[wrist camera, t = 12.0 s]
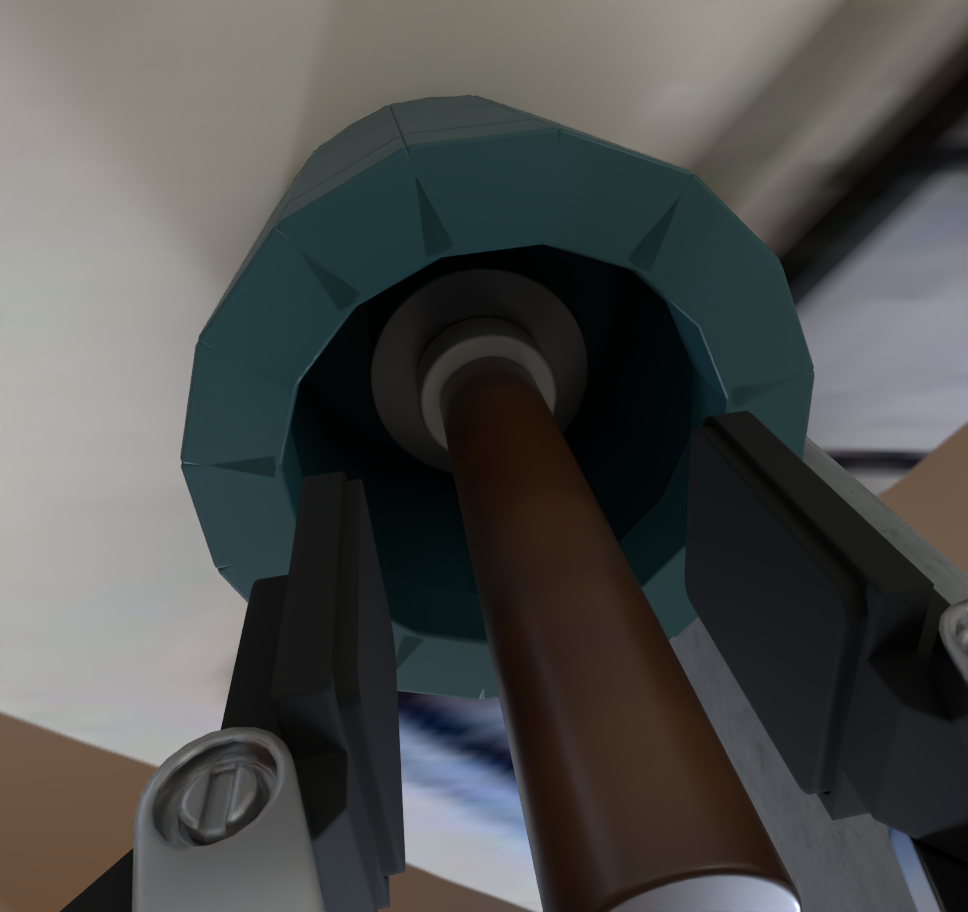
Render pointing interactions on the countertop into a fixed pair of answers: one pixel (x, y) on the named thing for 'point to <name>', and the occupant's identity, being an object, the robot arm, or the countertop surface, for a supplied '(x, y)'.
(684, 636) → the hip flask
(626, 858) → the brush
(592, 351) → the jar
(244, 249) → the countertop surface
